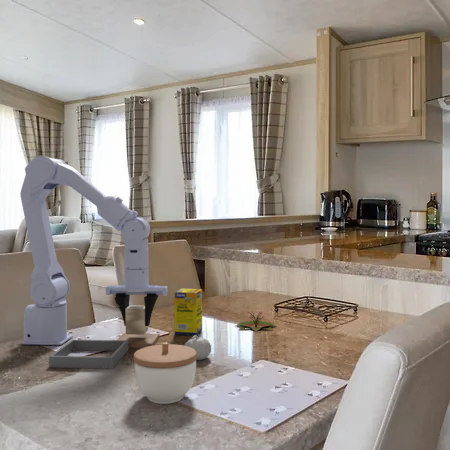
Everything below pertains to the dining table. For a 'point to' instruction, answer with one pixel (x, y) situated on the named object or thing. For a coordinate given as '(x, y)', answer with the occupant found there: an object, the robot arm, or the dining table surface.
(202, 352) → the garlic
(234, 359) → the dining table surface
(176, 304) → the supplement box
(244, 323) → the lily flower
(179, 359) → the lidded jar
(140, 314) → the box
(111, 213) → the robot arm
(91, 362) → the bin
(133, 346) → the coaster
